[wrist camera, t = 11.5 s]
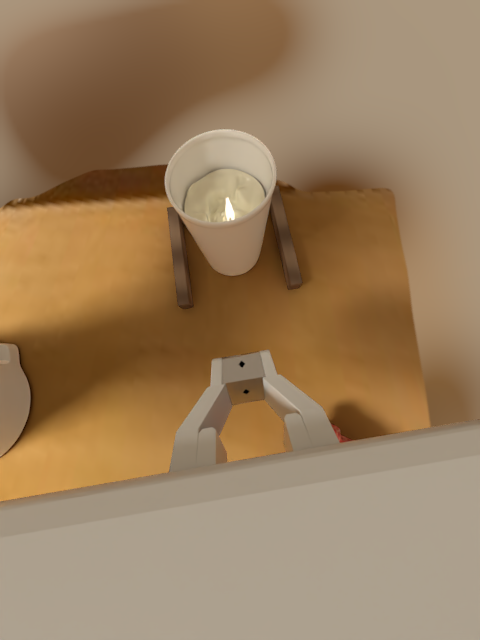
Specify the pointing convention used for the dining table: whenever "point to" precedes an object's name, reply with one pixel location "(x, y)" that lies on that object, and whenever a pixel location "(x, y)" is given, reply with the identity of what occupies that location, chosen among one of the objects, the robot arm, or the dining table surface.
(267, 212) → the candle holder
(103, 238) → the dining table surface
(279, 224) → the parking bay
